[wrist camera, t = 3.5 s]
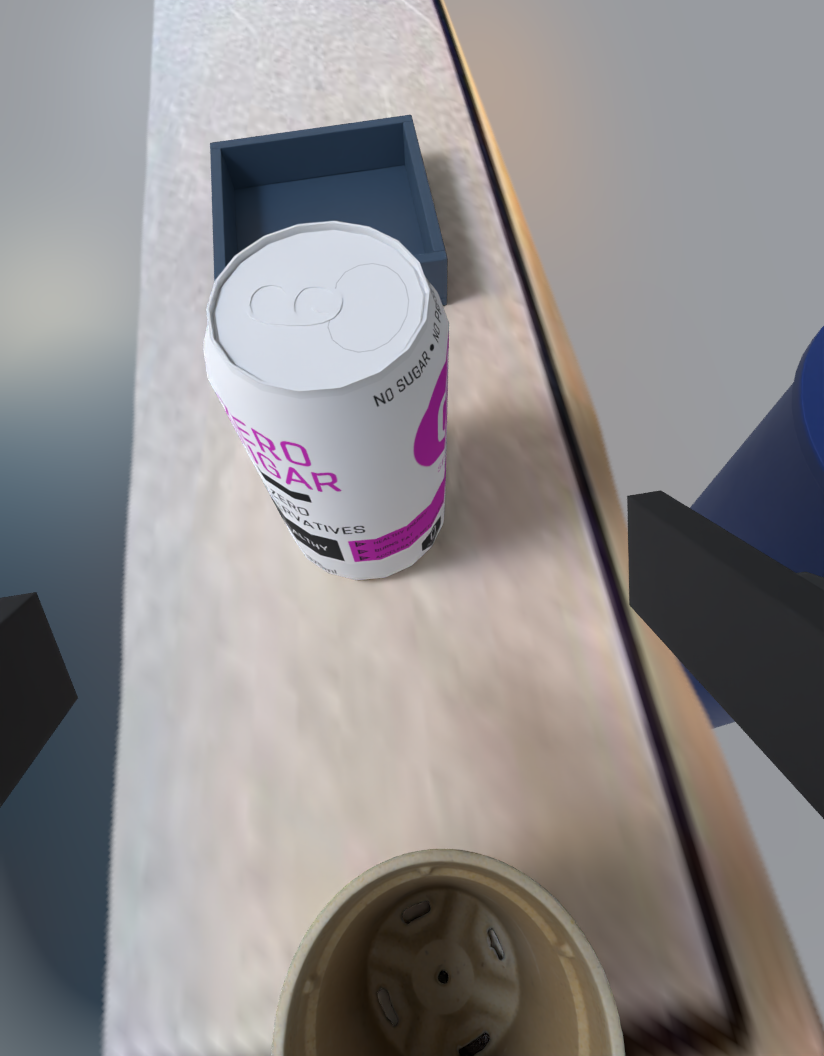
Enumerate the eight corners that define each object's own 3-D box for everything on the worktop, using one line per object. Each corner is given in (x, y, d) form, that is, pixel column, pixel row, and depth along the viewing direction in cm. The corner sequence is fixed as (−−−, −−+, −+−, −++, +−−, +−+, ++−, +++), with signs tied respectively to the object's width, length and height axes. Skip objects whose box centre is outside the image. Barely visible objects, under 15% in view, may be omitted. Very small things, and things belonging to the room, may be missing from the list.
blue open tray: (447, 305, 39) (447, 258, 35) (233, 337, 38) (214, 293, 35) (413, 165, 44) (411, 114, 41) (226, 192, 44) (209, 142, 41)
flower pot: (426, 788, 27) (421, 778, 19) (612, 953, 24) (694, 1021, 17) (276, 988, 24) (198, 1072, 16) (466, 1200, 22) (481, 1422, 14)
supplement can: (449, 450, 34) (456, 211, 21) (438, 591, 31) (437, 417, 17) (305, 441, 35) (220, 204, 21) (278, 579, 32) (157, 401, 18)
